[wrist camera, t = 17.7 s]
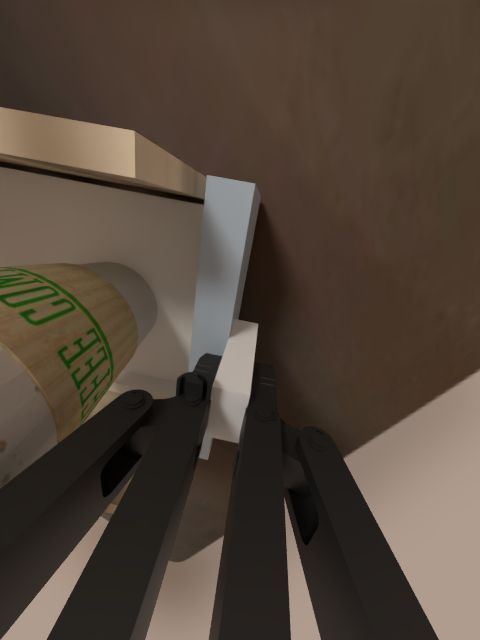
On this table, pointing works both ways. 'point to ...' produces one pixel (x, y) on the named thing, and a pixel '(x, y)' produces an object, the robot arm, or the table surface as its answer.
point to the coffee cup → (62, 349)
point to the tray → (143, 259)
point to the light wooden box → (95, 168)
